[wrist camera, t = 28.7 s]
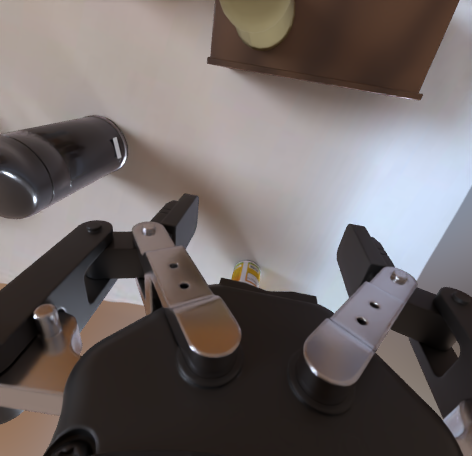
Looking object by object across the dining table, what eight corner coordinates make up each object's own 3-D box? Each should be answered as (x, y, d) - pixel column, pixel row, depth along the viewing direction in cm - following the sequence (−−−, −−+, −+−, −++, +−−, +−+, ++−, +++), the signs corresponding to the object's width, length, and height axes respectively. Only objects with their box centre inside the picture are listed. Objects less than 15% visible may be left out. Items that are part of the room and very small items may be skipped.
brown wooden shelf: (226, 67, 38) (206, 63, 28) (237, -27, 33) (217, -72, 23) (384, 95, 36) (420, 100, 27) (420, 1, 31) (481, -34, 22)
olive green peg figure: (261, -45, 24) (246, -124, 15) (308, 6, 26) (323, -37, 16) (221, 21, 27) (188, -10, 18) (266, 64, 28) (258, 57, 19)
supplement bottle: (235, 280, 56) (226, 315, 48) (233, 259, 54) (223, 292, 45) (261, 281, 55) (257, 317, 47) (260, 260, 53) (255, 294, 44)
